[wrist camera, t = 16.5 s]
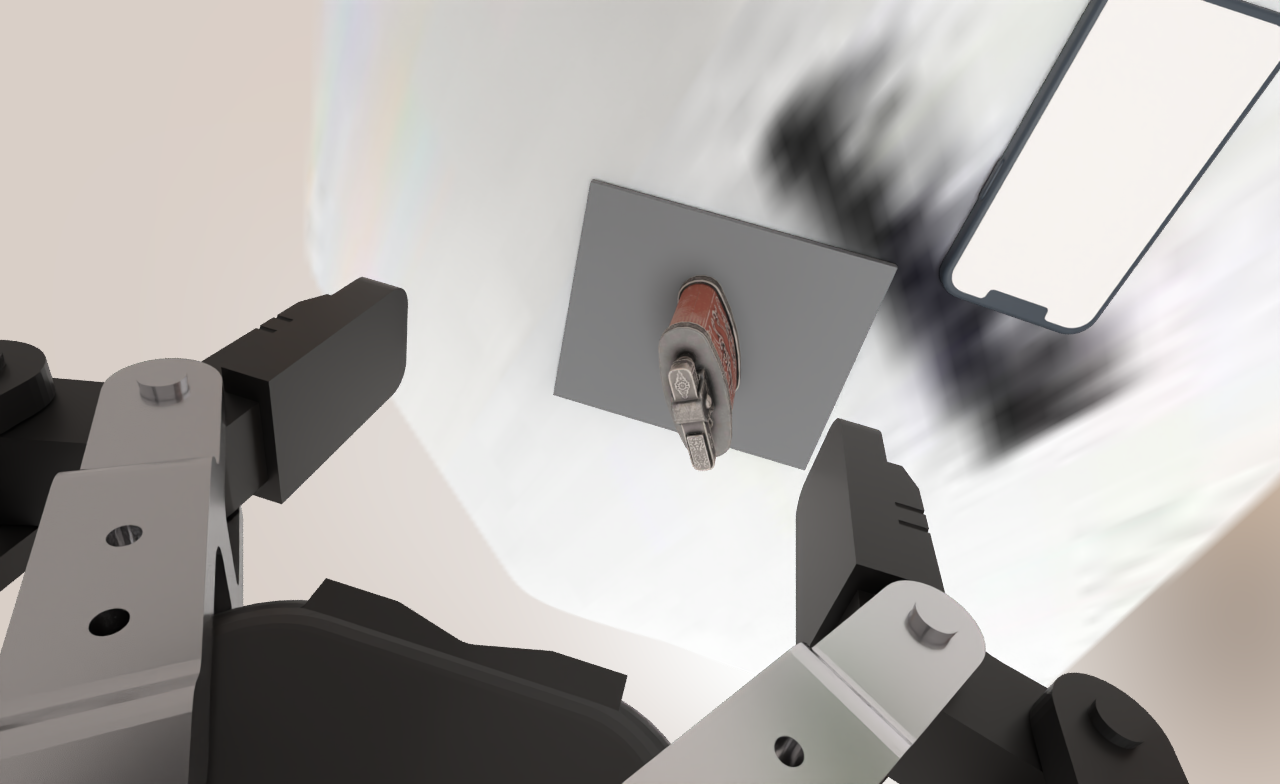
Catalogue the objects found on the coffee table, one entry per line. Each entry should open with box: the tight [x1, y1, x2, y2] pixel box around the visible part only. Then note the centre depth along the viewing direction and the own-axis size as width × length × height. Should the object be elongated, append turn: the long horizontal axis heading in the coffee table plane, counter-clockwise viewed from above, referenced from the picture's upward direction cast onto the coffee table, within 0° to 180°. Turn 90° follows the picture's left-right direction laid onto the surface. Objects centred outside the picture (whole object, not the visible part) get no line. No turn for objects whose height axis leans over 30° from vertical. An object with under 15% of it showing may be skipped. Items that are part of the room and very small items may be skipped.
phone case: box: [939, 0, 1280, 334], centre depth 33 cm, size 9×2×16 cm
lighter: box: [658, 275, 741, 471], centre depth 37 cm, size 8×3×10 cm, turn 15°
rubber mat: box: [553, 179, 897, 470], centre depth 42 cm, size 15×18×1 cm
